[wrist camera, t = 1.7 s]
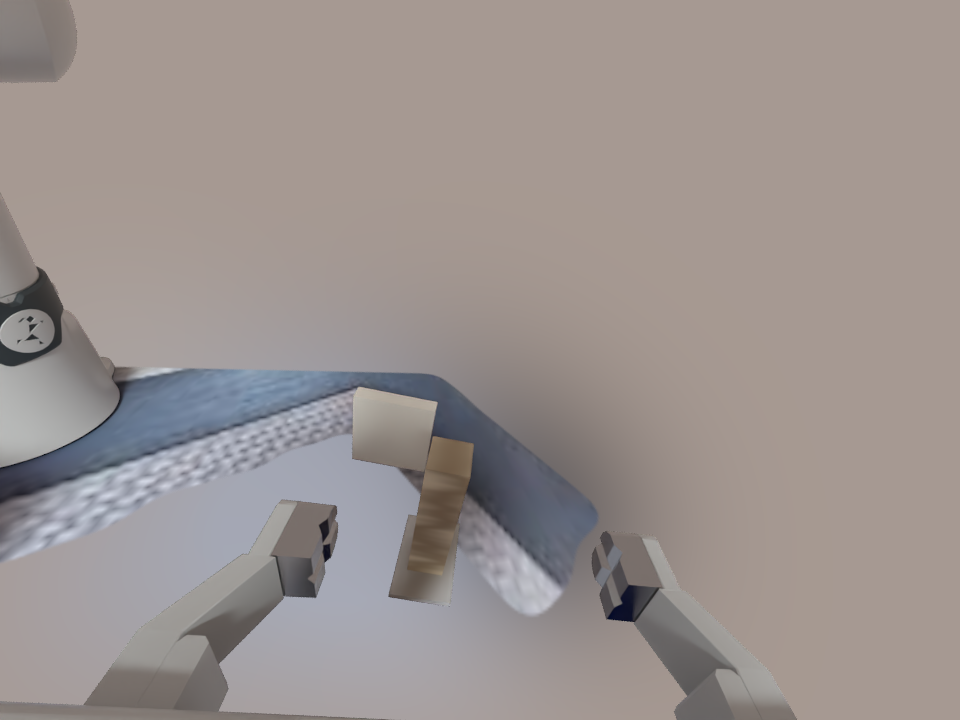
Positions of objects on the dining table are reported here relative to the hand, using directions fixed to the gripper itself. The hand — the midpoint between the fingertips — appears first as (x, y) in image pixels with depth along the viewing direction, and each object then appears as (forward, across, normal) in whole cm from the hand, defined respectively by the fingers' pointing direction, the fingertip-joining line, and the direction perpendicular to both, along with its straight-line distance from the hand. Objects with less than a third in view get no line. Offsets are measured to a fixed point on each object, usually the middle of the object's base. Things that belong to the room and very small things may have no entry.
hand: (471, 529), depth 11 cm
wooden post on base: (+12, +1, +22) cm, 25 cm away
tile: (+22, +6, +21) cm, 31 cm away
